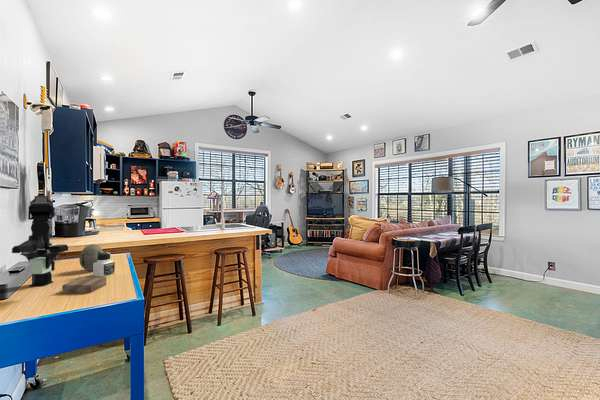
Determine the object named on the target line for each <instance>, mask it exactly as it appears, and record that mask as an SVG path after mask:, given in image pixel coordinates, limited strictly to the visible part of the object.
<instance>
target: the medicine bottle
mask: <svg viewBox="0 0 600 400" xmlns="http://www.w3.org/2000/svg"><path fill="white" fill-rule="evenodd" d="M111 257H112V255H111V252H104V253H100V254H98V255H97V261H98V262H96V263H93V271H92V276H93V277H97V278H102V277H106V278H107V277H109V276H111V275H115V272H116V271H115V269H116V267H115V266H116V265H115V264H116V263H115V260H111V259H112V258H111Z"/></svg>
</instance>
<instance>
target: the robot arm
mask: <svg viewBox="0 0 600 400" xmlns="http://www.w3.org/2000/svg"><path fill="white" fill-rule="evenodd" d="M53 202H54V201H52V200H51V199H50V198H49V196H48V195H36V196H35V195H34V197H33V199H32V200H31V201H30V202H29V205H28V214H27V215H28V218H27V219H28V221H29V220H31V226H30V231H31V235H30V234H29V236H28V240H25V241H24V242H22V243H20V244H18V245H14V246H13V247H12V248H11V253H12V254H19V255H20V256H23V257H25V258H26V259H27V261H28V263H29V264H30V260H31V259H34V258H38V257H46V269H49V267H50V265H51V271H50V272H47V273H44V274H31V283H29V287H42V286H43V287H45V286H46V285H49V284H51V283H54V280H52V275H53V274H52V273H51V272H54V271H55V266H56V265H55V264H56V263H55V258H56V257H57V256H58V254H60V253H64V252H68V251H69V245H68V244H63V243H62V244H61V243H60V244H55V245H54V244H53V243H52V242H50V237H52V236H53V234H52V233H51V232H50V230H51V229H50V227H51V225H50V220H52V219H53V218H55V208H54V205H53V204H54V203H53Z"/></svg>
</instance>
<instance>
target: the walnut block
mask: <svg viewBox="0 0 600 400" xmlns="http://www.w3.org/2000/svg"><path fill="white" fill-rule="evenodd" d="M105 286H107V276H106V277H78V278H76V279H74V280H72V281H69V282H67V283H64V284H63V285H61V287H62V288H61V289H62V292H61V293H62V294H92V293H94V292H96V291H97V290H99V289H101V288H103V287H105Z"/></svg>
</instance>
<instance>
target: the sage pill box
mask: <svg viewBox="0 0 600 400" xmlns="http://www.w3.org/2000/svg"><path fill="white" fill-rule="evenodd" d="M50 271H51V265H50V267H49V269H46V257H38V258H34V259H31V260H30V263H29V275H32V274H44V273H47V272H50ZM51 272H52V271H51Z"/></svg>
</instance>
